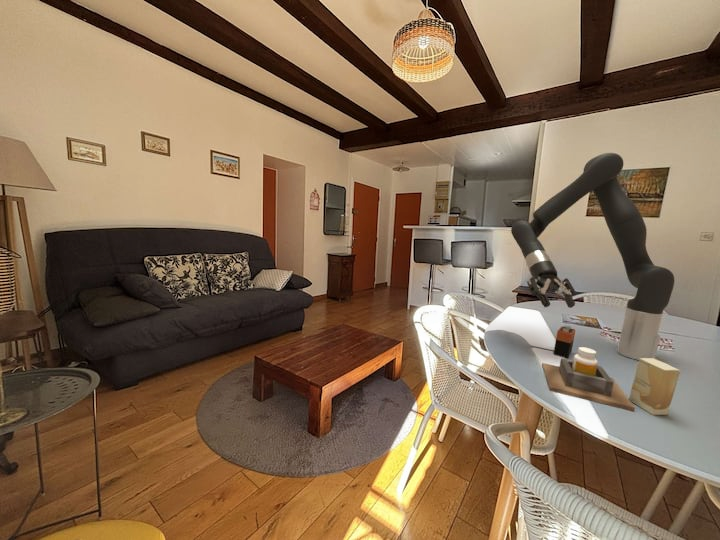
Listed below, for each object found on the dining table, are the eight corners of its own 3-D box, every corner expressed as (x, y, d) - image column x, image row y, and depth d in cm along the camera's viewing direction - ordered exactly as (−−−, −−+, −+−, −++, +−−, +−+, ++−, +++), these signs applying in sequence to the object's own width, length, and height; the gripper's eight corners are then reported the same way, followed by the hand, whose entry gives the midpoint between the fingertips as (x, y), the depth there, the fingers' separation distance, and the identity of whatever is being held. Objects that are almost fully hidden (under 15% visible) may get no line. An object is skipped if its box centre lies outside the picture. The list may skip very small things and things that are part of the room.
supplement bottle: (598, 388, 80) (604, 355, 79) (576, 385, 81) (582, 352, 79) (586, 378, 85) (592, 347, 84) (566, 375, 86) (571, 345, 85)
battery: (571, 353, 105) (576, 327, 103) (567, 358, 100) (572, 331, 99) (557, 349, 108) (561, 323, 106) (553, 354, 103) (557, 327, 102)
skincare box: (627, 400, 77) (637, 357, 75) (642, 399, 77) (652, 357, 75) (653, 416, 71) (665, 369, 69) (669, 415, 71) (681, 369, 69)
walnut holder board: (612, 381, 86) (615, 365, 86) (634, 411, 72) (638, 393, 71) (541, 365, 94) (544, 351, 93) (549, 390, 80) (552, 373, 79)
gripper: (527, 259, 100) (546, 300, 90) (565, 260, 101) (588, 301, 92) (516, 271, 106) (532, 311, 96) (552, 272, 107) (572, 312, 98)
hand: (560, 306), depth 94 cm, fingers open, 8 cm apart
